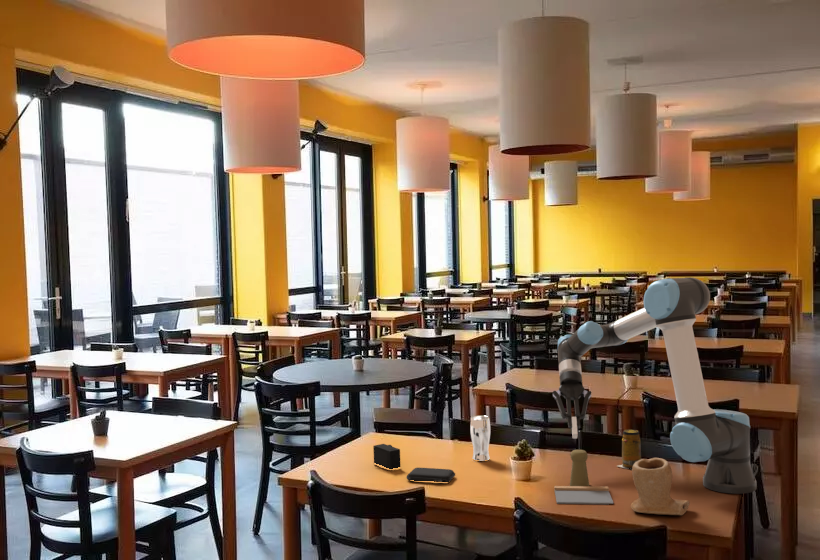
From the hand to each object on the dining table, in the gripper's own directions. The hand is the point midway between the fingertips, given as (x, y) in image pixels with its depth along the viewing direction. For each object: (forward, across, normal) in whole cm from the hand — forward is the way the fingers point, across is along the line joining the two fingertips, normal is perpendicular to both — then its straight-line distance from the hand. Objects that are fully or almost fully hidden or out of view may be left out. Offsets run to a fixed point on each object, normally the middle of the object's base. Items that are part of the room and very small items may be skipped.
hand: (575, 436), depth 255 cm
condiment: (+1, -20, -18) cm, 27 cm away
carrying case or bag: (+14, +46, -6) cm, 49 cm away
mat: (+24, 0, +6) cm, 25 cm away
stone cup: (+34, -20, +15) cm, 42 cm away
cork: (+16, 0, -2) cm, 16 cm away
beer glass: (-4, +31, -23) cm, 39 cm away
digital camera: (+3, +62, -17) cm, 65 cm away
